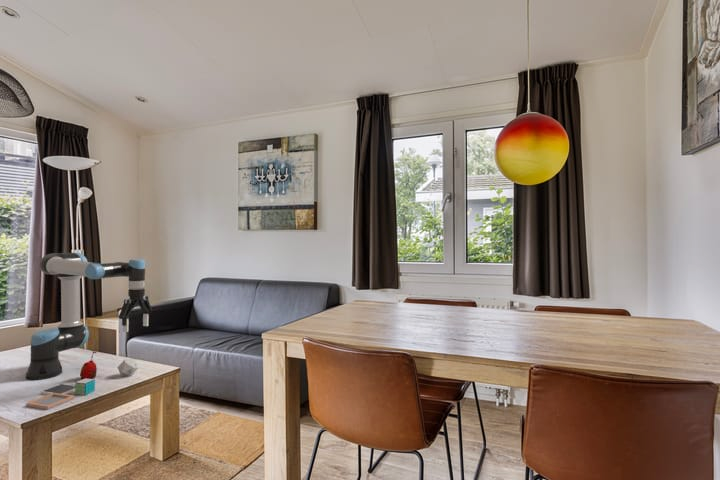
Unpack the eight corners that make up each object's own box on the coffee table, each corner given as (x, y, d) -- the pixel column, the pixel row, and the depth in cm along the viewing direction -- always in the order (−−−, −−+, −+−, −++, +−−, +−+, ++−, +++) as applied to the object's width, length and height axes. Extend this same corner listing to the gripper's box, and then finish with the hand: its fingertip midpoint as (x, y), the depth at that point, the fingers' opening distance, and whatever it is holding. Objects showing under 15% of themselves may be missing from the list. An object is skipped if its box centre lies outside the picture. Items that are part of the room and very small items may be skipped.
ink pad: (40, 393, 184) (40, 390, 184) (61, 385, 194) (61, 383, 194) (60, 396, 181) (60, 393, 181) (80, 388, 191) (80, 386, 191)
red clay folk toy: (86, 375, 208) (86, 347, 208) (99, 375, 209) (100, 347, 209) (77, 381, 200) (77, 352, 200) (91, 381, 201) (92, 351, 201)
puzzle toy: (85, 395, 183) (85, 383, 183) (74, 394, 184) (74, 382, 184) (95, 390, 189) (95, 379, 189) (84, 389, 190) (85, 378, 190)
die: (123, 380, 204) (136, 363, 207) (110, 370, 206) (124, 354, 209) (131, 380, 212) (144, 364, 215) (119, 371, 214) (132, 355, 217)
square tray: (26, 406, 170) (26, 403, 170) (54, 395, 182) (54, 392, 182) (47, 409, 167) (47, 406, 167) (74, 398, 179) (74, 395, 179)
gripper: (123, 291, 193) (122, 334, 193) (159, 286, 217) (159, 324, 218) (110, 291, 195) (109, 333, 195) (148, 285, 219) (147, 323, 219)
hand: (135, 328), depth 206 cm, fingers open, 13 cm apart
